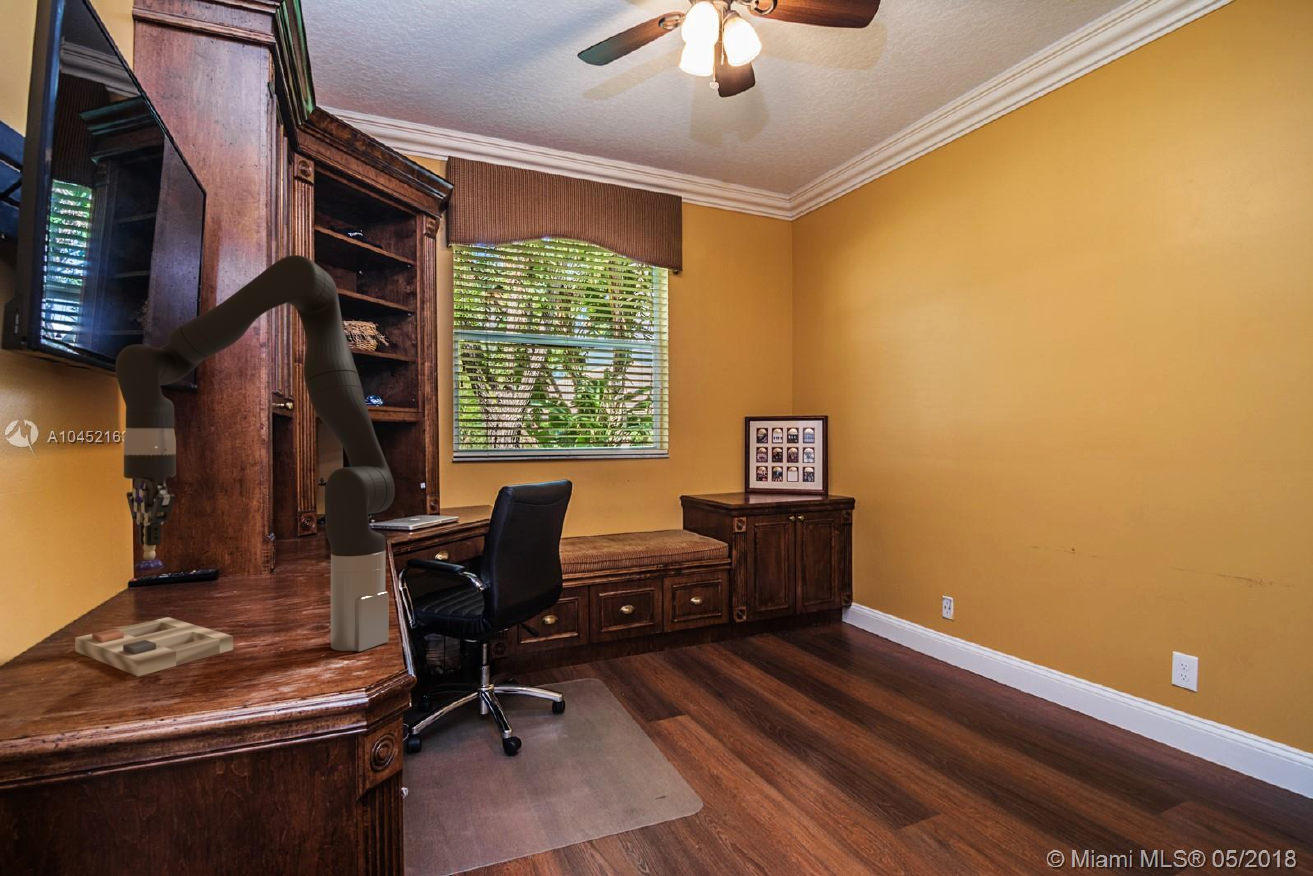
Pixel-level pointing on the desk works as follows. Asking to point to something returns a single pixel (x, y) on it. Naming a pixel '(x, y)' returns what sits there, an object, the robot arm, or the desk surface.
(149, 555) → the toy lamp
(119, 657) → the socket board
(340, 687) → the desk surface
